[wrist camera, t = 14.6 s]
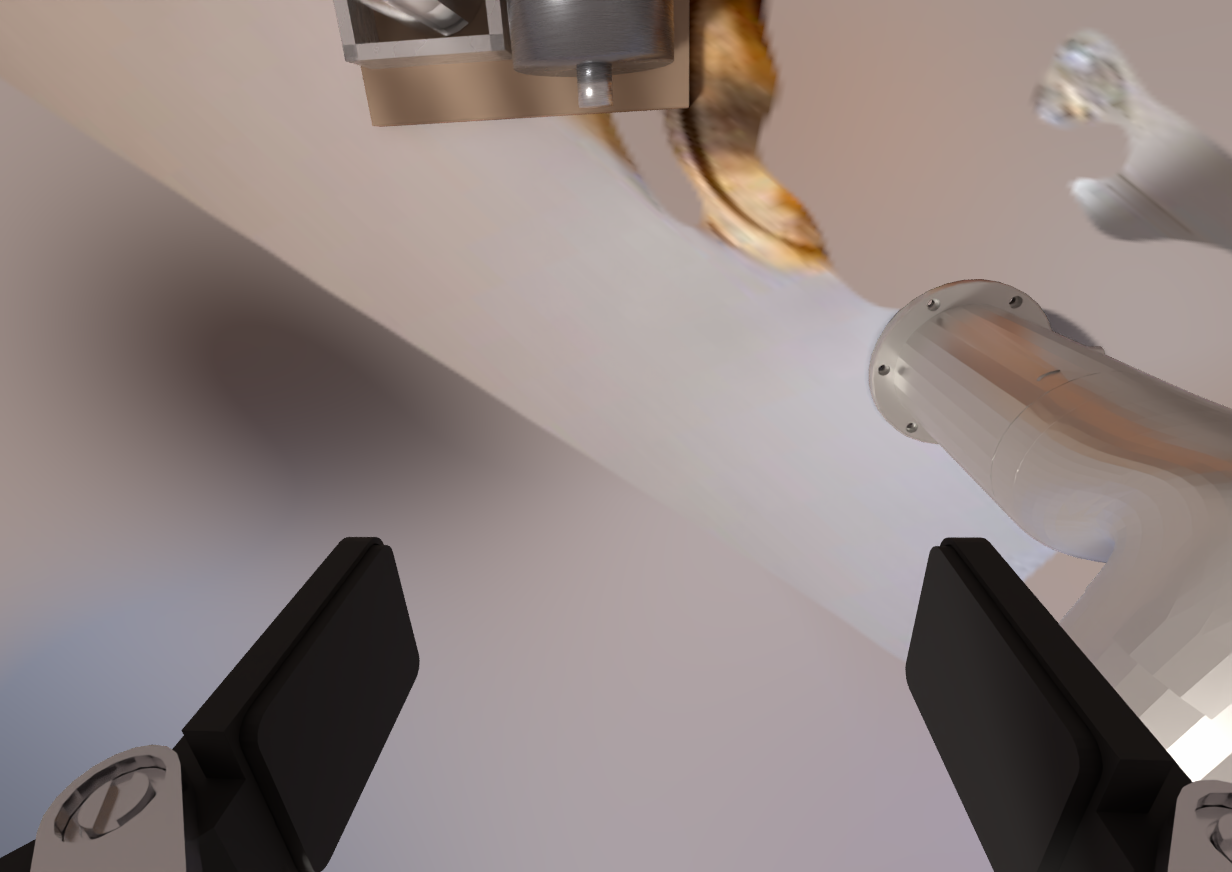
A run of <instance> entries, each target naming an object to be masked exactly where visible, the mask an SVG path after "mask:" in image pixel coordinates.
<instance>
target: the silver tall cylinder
mask: <svg viewBox="0 0 1232 872" xmlns="http://www.w3.org/2000/svg"><path fill="white" fill-rule="evenodd" d="M356 1H358V2H360V3H362V4H364V5H366V6H368V7H369V8H371V9H373V10H375V11H377V12H379V13H381V14H383V15H385V16H387V17H389V18H391V19H393V20H395V21H397V22H399V23H401V24H403V25H405V26H406V27H408V28H410V29H412V30H414V31H416V32H418V33H420V34H423V35H427V36H431V37H448V36H450V35H453V34H456V33H458V32H460V31H461V30H463V29H464V28H465V27H466V26H468V25H469V24H470V23H471V21H472V20H473V19H474V17H475V16H476V14H477V13H478V11H479V8H480V6H481V3H482V0H356Z"/></svg>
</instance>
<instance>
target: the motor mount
mask: <svg viewBox="0 0 1232 872" xmlns="http://www.w3.org/2000/svg"><path fill="white" fill-rule="evenodd" d="M333 2H334V7H335V12H336V17H337V22H338V27H339V31H340V36H341V41H342V46H343V51H344V56H345V61H347V62H350V63H353V64H356V65H360V66H361V70H362V75H363V80H364V85H365V90H366V95H367V100H368V105H369V110H370V116H371V121H372V126H379V127H383V126H400V125H416V124H433V123H449V122H466V121H482V120H499V119H515V118H532V117H548V116H565V115H581V114H597V113H614V112H629V111H647V110H663V109H680V108H689V0H482V3H481V6H480V8H479V11H478V13H477V14H476V16H475V17H474V19H473V20H472V21H471V23H470V24H469V25H468V26H466V27H465V28H464V29H463V30H461V31H460V32H458V33H456V34H453V35H450V36H448V37H431V36H427V35H423V34H420V33H418V32H416V31H414V30H412V29H410V28H408V27H406V26H405V25H403V24H401V23H399V22H397V21H395V20H393V19H391V18H389V17H387V16H385V15H383V14H381V13H379V12H377V11H375V10H373V9H371V8H369V7H368V6H366V5H364V4H362V3H360V2H358V1H356V0H333Z"/></svg>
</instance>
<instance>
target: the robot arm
mask: <svg viewBox="0 0 1232 872" xmlns="http://www.w3.org/2000/svg"><path fill="white" fill-rule="evenodd" d="M1011 299H1012V301H1011V302H1010V300H1011ZM930 300H932V303H931V304H930V305H928V302H929V301H930ZM1009 302H1010V303H1009ZM927 305H928V306H927ZM881 365H883V368H881V369H879V367H880V366H881ZM869 387H870V391H871V395H872V399H873V401H874V403H875V405H876V407H877V409H878V411H879V412H880V413H881V414H882V416H883V417H884V418H885V420H886V421H887V422H888V423H889V424H891V425H892V426H893V427H894V428H895V429H896V430H897V431H899V432H900V433H902V434H903V435H905V436H907V437H910V438H912V439H915V440H918V441H921V442H926V443H932V444H939V445H940V446H941V447H942V448H943V449H944V450H945V451H946V452H947V453H948V454H949V455H950V456H951V457H952V458H953V459H954V460H955V461H956V462H957V463H958V464H959V465H960V466H961V467H962V468H963V469H964V470H965V471H966V472H967V474H968V475H969V476H970V477H971V478H972V479H973V480H974V481H975V482H976V483H977V484H978V485H979V486H980V487H981V488H982V489H983V490H984V491H985V492H986V493H987V494H988V495H989V496H990V497H991V498H992V499H993V500H994V501H995V503H996V504H997V505H998V506H999V507H1000V508H1001V509H1002V510H1003V511H1004V512H1005V513H1006V514H1007V515H1008V516H1009V517H1010V518H1011V519H1012V520H1013V521H1014V522H1015V523H1016V524H1017V525H1018V526H1019V527H1020V528H1021V529H1022V530H1023V531H1024V532H1026V533H1027V534H1028V535H1029V536H1030V537H1032V538H1033V539H1035V540H1037V541H1038V542H1040V543H1041V544H1043V545H1045V546H1047V547H1049V548H1051V549H1053V550H1056V551H1059V552H1061V553H1064V554H1067V555H1070V556H1073V557H1077V558H1081V559H1086V560H1091V561H1096V562H1103V563H1106V564H1105V565H1104V567H1103V568H1102V569H1101V571H1100V572H1099V573H1098V575H1097V576H1096V577H1095V578H1094V580H1093V581H1092V582H1091V583H1090V584H1089V585H1088V586H1087V588H1086V590H1085V593H1084V594H1083V595H1082V596H1081V598H1080V599H1079V600H1078V601H1077V602H1076V603H1075V605H1074V606H1073V607H1072V608H1071V609H1070V610H1069V611H1068V613H1067V614H1066V615H1065V616H1064V618H1063V619H1062V620H1061V621H1060V622H1059V623H1058V622H1057V621H1056V620H1055V619H1054V618H1053V616H1052V615H1051V614H1050V613H1049V612H1048V610H1047V609H1046V608H1045V607H1044V606H1043V605H1042V603H1041V602H1040V601H1039V600H1038V599H1037V598H1036V596H1035V595H1034V594H1033V593H1032V592H1031V591H1030V589H1029V588H1028V587H1027V586H1026V585H1025V583H1024V582H1023V581H1022V580H1021V579H1020V578H1019V576H1018V575H1017V574H1016V573H1015V572H1014V570H1013V569H1012V568H1011V567H1010V566H1009V565H1008V563H1007V562H1006V561H1005V560H1004V559H1003V558H1002V556H1001V555H1000V554H999V553H998V552H997V550H996V549H995V548H994V547H993V546H992V545H991V543H990V542H989V541H987V540H986V539H985V538H945V539H944V540H943V541H942V542H941V545H940V546H935V547H933V548H932V549H931V551H930V554H929V558H928V563H927V567H926V572H925V577H924V581H923V586H922V591H921V595H920V600H919V605H918V610H917V614H916V619H915V624H914V628H913V633H912V638H911V642H910V647H909V652H908V657H907V661H906V679H907V683H908V686H909V689H910V691H911V693H912V696H913V698H914V700H915V702H916V704H917V706H918V708H919V711H920V713H921V715H922V717H923V719H924V721H925V724H926V726H927V728H928V730H929V732H930V734H931V736H932V739H933V741H934V743H935V745H936V747H937V749H938V752H939V754H940V756H941V758H942V760H943V762H944V765H945V767H946V769H947V771H948V773H949V775H950V777H951V780H952V782H953V784H954V786H955V788H956V790H957V793H958V795H959V797H960V799H961V801H962V803H963V805H964V808H965V810H966V812H967V814H968V816H969V818H970V820H971V823H972V825H973V827H974V829H975V831H976V833H977V835H978V838H979V840H980V842H981V844H982V846H983V849H984V851H985V853H986V855H987V857H988V859H989V861H990V863H991V866H992V868H993V870H994V872H1232V409H1231V408H1228V407H1226V406H1223V405H1220V404H1218V403H1215V402H1213V401H1210V400H1208V399H1205V398H1203V397H1200V396H1198V395H1195V394H1193V393H1190V392H1188V391H1186V390H1184V389H1181V388H1179V387H1177V386H1174V385H1172V384H1170V383H1168V382H1166V381H1163V380H1161V379H1159V378H1156V377H1154V376H1152V375H1150V374H1147V373H1145V372H1143V371H1141V370H1138V369H1136V368H1134V367H1132V366H1129V365H1127V364H1125V363H1122V362H1120V361H1118V360H1116V359H1114V358H1112V357H1109V356H1107V355H1105V352H1104V349H1103V348H1102V347H1099V346H1095V347H1087V346H1085V345H1082V344H1080V343H1078V342H1076V341H1073V340H1071V339H1069V338H1067V337H1064V336H1062V335H1060V334H1058V333H1055V332H1053V331H1052V329H1051V326H1050V324H1049V321H1048V318H1047V316H1046V315H1045V313H1044V312H1043V310H1042V309H1041V307H1040V306H1039V304H1038V303H1036V302H1035V301H1034V300H1033V299H1032V298H1031V297H1030V296H1028V295H1027V294H1026V293H1024V292H1022V291H1020V290H1018V289H1016V288H1014V287H1012V286H1009V285H1006V284H1003V283H1001V282H996V281H990V280H984V279H974V280H961V281H956V282H952V283H947V284H944V285H942V286H939V287H936V288H934V289H931V290H929V291H927V292H926V293H924V294H922V295H920V296H919V297H917V298H915V299H914V300H912V301H911V302H910V303H909V304H907V305H906V306H905V307H904V308H903V309H901V310H900V311H899V312H898V313H897V314H896V315H895V316H894V318H893V319H892V320H891V321H890V322H889V323H888V324H887V326H886V327H885V329H884V330H883V332H882V334H881V335H880V337H879V339H878V340H877V343H876V345H875V348H874V350H873V353H872V356H871V361H870V366H869ZM909 423H910V424H909ZM908 424H909V425H908ZM418 670H419V654H418V650H417V646H416V642H415V638H414V634H413V630H412V626H411V622H410V618H409V614H408V610H407V606H406V602H405V598H404V594H403V591H402V586H401V582H400V578H399V575H398V571H397V567H396V563H395V559H394V555H393V551H392V549H391V547H390V546H388V545H384V544H383V542H382V541H381V539H380V538H377V537H347V538H344V539H343V540H342V541H340V542H339V544H338V545H337V546H336V547H335V548H334V550H333V551H332V552H331V553H330V554H329V556H328V557H327V558H326V559H325V560H324V561H323V563H322V564H321V565H320V566H319V567H318V569H317V570H316V571H315V572H314V574H313V575H312V576H311V577H310V578H309V579H308V581H307V582H306V583H305V584H304V585H303V587H302V588H301V589H300V590H299V591H298V592H297V594H296V595H295V596H294V597H293V598H292V600H291V601H290V602H289V603H288V604H287V605H286V607H285V608H284V609H283V610H282V611H281V613H280V614H279V615H278V616H277V617H276V619H275V620H274V621H273V622H272V623H271V625H270V626H269V627H268V628H267V629H266V631H265V632H264V633H263V634H262V635H261V636H260V638H259V639H258V640H257V641H256V642H255V644H254V645H253V646H252V647H251V648H250V650H249V651H248V652H247V653H246V654H245V656H244V657H243V658H242V659H241V660H240V661H239V663H238V664H237V665H236V666H235V667H234V669H233V670H232V671H231V672H230V673H229V674H228V676H227V677H226V678H225V679H224V680H223V682H222V683H221V684H220V685H219V686H218V688H217V689H216V690H215V691H214V692H213V694H212V695H211V696H210V697H209V698H208V700H207V701H206V702H205V703H204V704H203V705H202V707H201V708H200V709H199V710H198V711H197V713H196V714H195V715H194V716H193V717H192V719H191V720H190V721H189V722H188V723H187V724H186V726H185V727H184V728H183V729H182V732H183V734H184V736H183V737H182V738H181V740H180V741H179V742H178V743H177V744H176V746H175V747H174V748H173V749H170V748H169V747H167V746H159V745H148V746H142V747H135V748H132V749H130V750H127V751H124V752H121V753H119V754H116V755H114V756H112V757H110V758H108V759H106V760H105V761H103V762H101V763H99V764H97V765H95V766H93V767H92V768H91V769H89V770H88V771H87V772H85V773H84V774H83V775H81V776H80V777H78V778H77V779H76V780H74V781H73V782H72V783H71V784H70V785H69V786H68V787H67V788H66V789H65V790H64V791H63V792H62V793H61V794H60V795H59V796H58V797H56V799H55V800H54V802H53V803H52V804H51V806H50V807H49V808H48V810H47V811H46V813H45V814H44V815H43V818H42V820H41V823H40V826H39V828H38V831H37V835H36V839H35V840H33V841H31V842H30V843H28V844H26V845H24V846H22V847H20V848H18V849H16V850H14V851H13V852H11V853H9V854H7V855H5V856H3V857H1V858H0V872H321V871H322V870H323V869H324V868H325V867H326V866H327V864H328V862H329V860H330V859H331V857H332V855H333V852H334V850H335V848H336V846H337V844H338V842H339V840H340V838H341V835H342V833H343V831H344V829H345V827H346V825H347V823H348V821H349V819H350V816H351V814H352V812H353V810H354V808H355V806H356V804H357V802H358V800H359V797H360V795H361V793H362V791H363V789H364V787H365V785H366V783H367V781H368V779H369V776H370V774H371V772H372V770H373V768H374V766H375V764H376V762H377V760H378V757H379V755H380V753H381V751H382V749H383V747H384V745H385V743H386V741H387V738H388V736H389V734H390V732H391V730H392V728H393V726H394V724H395V722H396V719H397V717H398V715H399V713H400V711H401V709H402V707H403V705H404V703H405V701H406V698H407V696H408V694H409V692H410V690H411V688H412V686H413V683H414V682H415V679H416V677H417V674H418Z"/></svg>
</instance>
